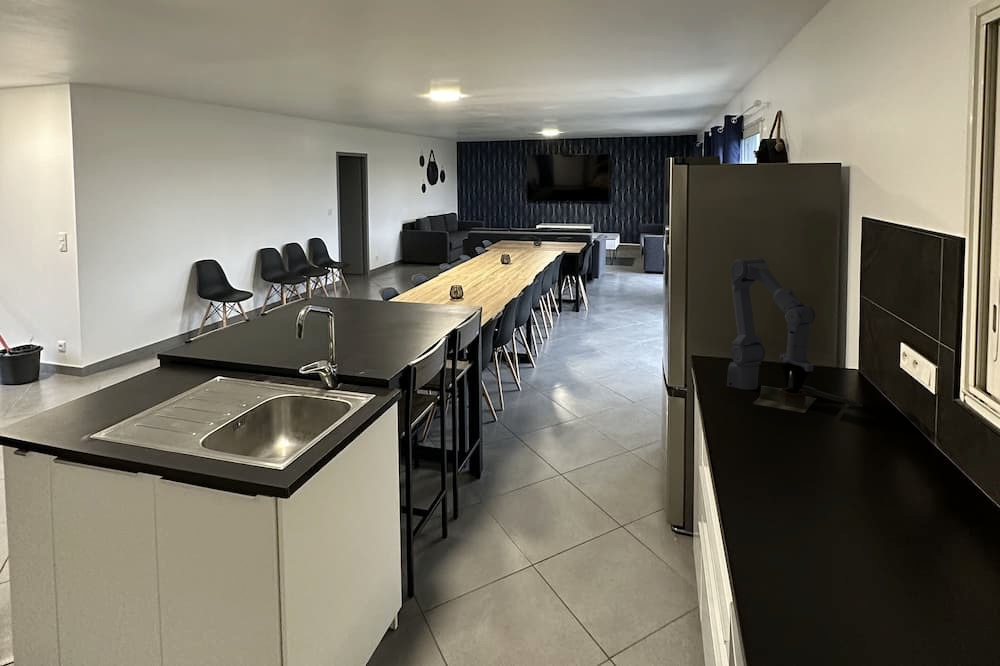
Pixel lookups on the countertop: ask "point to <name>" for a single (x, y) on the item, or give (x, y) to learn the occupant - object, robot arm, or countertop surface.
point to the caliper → (828, 396)
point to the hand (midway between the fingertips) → (793, 388)
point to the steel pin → (791, 384)
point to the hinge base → (778, 405)
